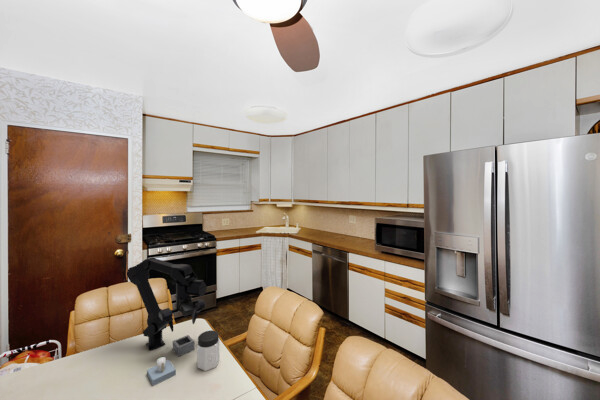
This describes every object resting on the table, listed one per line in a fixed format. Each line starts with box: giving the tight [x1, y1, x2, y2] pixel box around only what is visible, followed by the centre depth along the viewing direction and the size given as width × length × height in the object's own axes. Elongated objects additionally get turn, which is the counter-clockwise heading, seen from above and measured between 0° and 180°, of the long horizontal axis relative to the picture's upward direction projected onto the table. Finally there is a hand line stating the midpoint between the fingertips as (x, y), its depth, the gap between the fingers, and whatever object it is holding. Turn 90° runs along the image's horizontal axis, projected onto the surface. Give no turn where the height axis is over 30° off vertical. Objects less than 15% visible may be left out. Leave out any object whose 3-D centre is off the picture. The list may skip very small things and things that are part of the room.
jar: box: [196, 330, 220, 372], centre depth 103 cm, size 9×8×12 cm
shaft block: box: [146, 356, 177, 386], centre depth 97 cm, size 8×8×6 cm
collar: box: [172, 334, 195, 358], centre depth 112 cm, size 7×7×4 cm
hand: (183, 327), depth 112 cm, fingers open, 9 cm apart
